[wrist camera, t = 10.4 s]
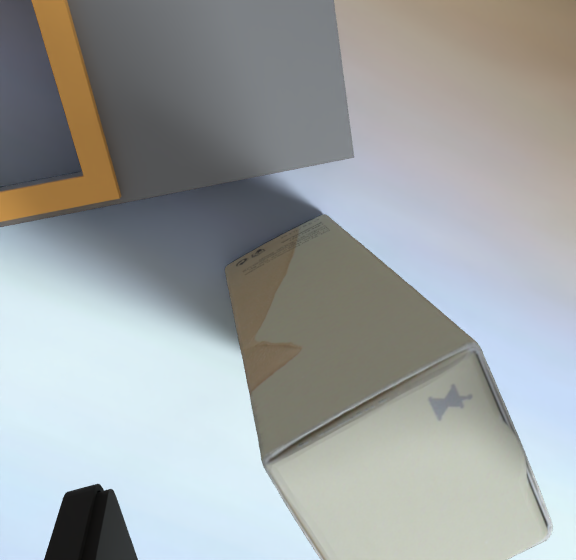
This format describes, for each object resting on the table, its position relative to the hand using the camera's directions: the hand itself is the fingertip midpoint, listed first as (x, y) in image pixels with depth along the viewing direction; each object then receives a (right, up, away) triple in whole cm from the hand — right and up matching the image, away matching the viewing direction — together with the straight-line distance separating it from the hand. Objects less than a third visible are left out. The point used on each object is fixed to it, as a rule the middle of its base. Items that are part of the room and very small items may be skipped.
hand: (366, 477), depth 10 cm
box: (-1, +3, +10) cm, 10 cm away
